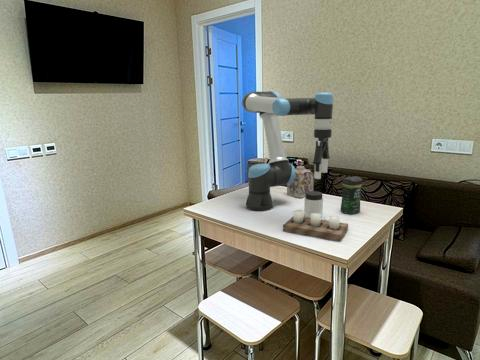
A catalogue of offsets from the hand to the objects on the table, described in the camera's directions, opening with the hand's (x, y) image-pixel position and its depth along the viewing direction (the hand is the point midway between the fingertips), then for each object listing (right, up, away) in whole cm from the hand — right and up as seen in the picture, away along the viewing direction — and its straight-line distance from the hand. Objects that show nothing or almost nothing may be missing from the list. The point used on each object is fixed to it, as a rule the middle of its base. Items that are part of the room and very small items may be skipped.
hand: (320, 175), depth 146 cm
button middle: (-4, -22, -6) cm, 23 cm away
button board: (-4, -25, -5) cm, 25 cm away
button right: (+3, -23, -10) cm, 25 cm away
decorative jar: (0, -12, +51) cm, 53 cm away
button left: (-11, -21, -2) cm, 24 cm away
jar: (-1, -20, +13) cm, 24 cm away
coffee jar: (+20, -19, +18) cm, 33 cm away
